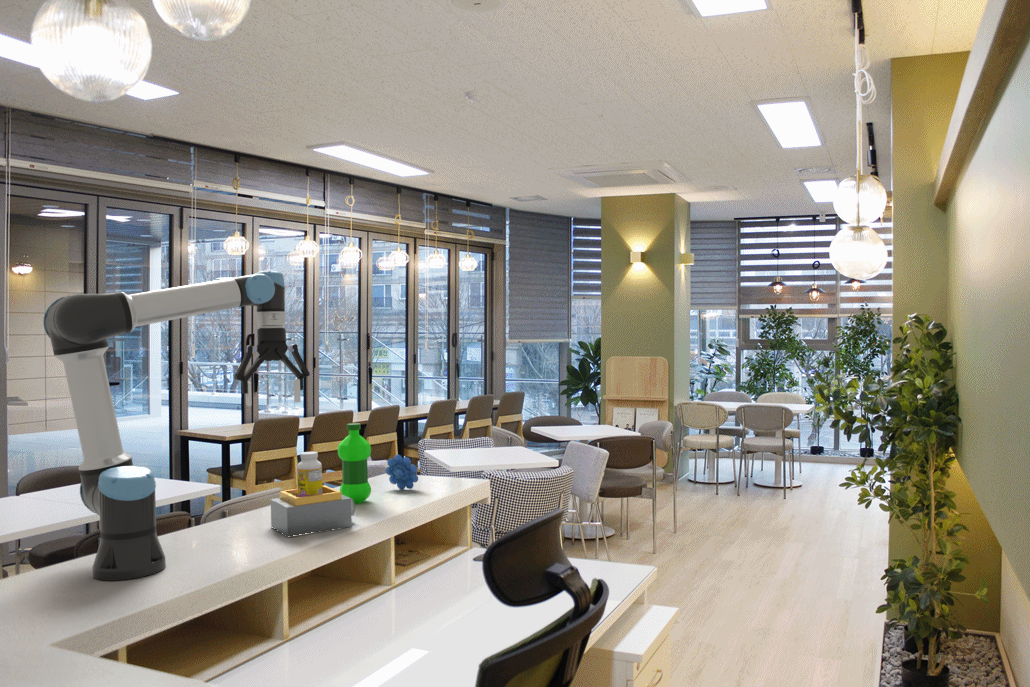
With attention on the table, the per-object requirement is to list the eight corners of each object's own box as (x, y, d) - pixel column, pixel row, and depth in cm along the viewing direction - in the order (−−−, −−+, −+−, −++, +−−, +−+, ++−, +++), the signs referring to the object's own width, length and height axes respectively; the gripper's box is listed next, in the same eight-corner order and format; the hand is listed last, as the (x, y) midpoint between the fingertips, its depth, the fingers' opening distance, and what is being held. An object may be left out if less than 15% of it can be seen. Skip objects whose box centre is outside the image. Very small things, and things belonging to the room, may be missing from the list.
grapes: (381, 491, 269) (380, 456, 269) (388, 487, 276) (387, 453, 275) (414, 492, 267) (413, 456, 266) (420, 488, 273) (419, 453, 273)
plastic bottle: (357, 506, 246) (355, 426, 246) (332, 503, 252) (330, 425, 251) (378, 500, 255) (376, 422, 254) (354, 497, 260) (352, 421, 260)
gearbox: (287, 537, 210) (286, 500, 210) (271, 527, 222) (270, 492, 222) (361, 525, 222) (360, 489, 222) (342, 516, 234) (341, 482, 234)
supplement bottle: (294, 498, 222) (293, 452, 222) (317, 495, 226) (316, 450, 225) (302, 502, 216) (301, 455, 216) (325, 499, 220) (324, 452, 220)
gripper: (228, 327, 210) (231, 408, 210) (319, 326, 224) (321, 401, 224) (221, 328, 216) (223, 406, 216) (310, 326, 230) (312, 399, 230)
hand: (273, 404), depth 220 cm, fingers open, 13 cm apart
